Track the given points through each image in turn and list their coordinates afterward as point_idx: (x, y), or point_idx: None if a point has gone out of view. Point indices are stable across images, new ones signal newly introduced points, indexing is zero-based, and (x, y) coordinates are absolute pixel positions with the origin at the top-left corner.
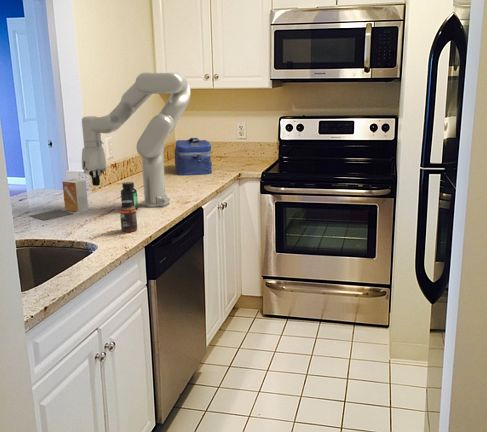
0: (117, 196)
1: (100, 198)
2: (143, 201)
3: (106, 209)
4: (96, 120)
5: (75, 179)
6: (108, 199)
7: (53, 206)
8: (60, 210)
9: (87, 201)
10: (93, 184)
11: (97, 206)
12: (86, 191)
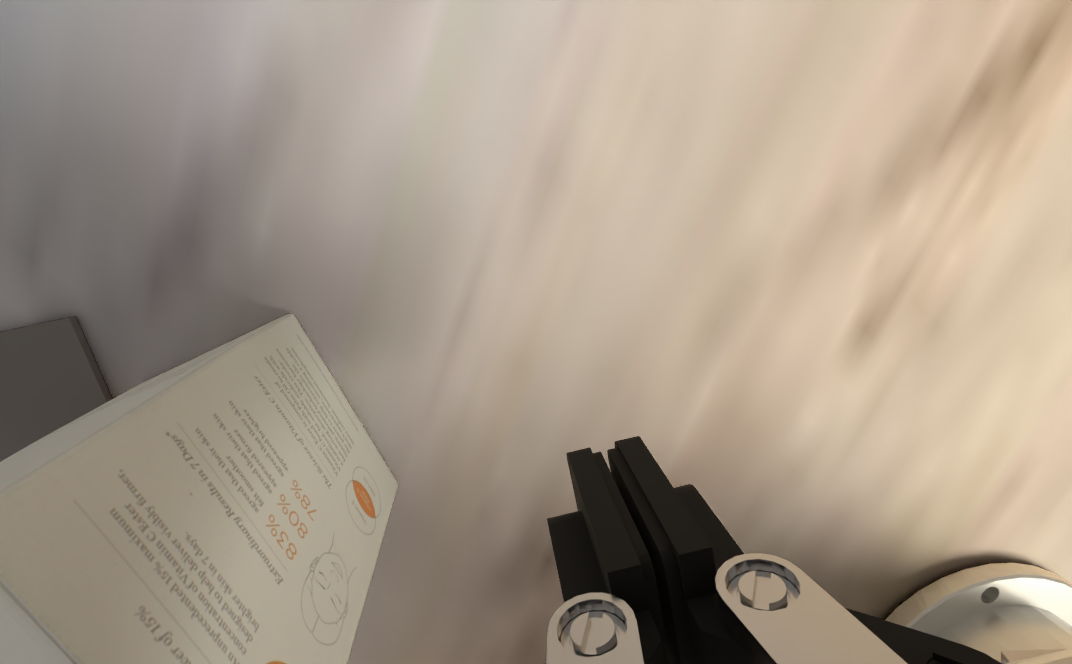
0: (954, 51)
1: (742, 2)
2: (924, 628)
3: (544, 606)
4: None
5: (32, 646)
6: (784, 151)
7: (19, 37)
8: (72, 396)
9: (379, 541)
10: (572, 477)
11: (524, 430)
12: (345, 655)
